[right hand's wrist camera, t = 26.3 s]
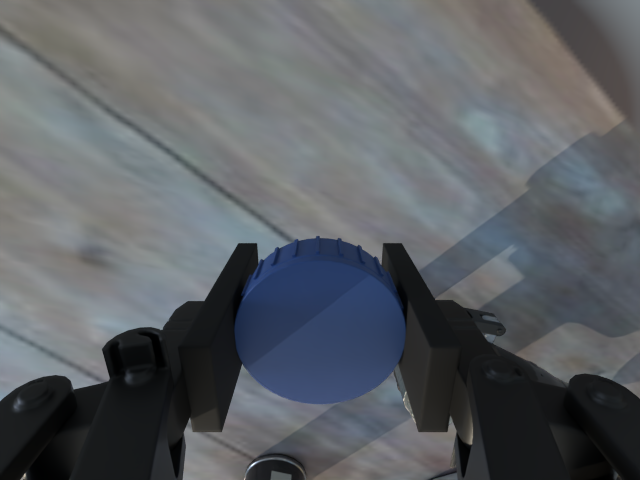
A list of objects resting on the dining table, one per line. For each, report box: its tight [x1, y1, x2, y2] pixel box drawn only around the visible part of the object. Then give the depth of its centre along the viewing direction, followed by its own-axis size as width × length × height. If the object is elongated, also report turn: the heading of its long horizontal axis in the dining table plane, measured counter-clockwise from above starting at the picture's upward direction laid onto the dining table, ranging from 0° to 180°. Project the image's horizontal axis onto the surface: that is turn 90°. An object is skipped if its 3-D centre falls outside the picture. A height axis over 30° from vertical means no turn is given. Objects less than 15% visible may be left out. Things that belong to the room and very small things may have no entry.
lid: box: [234, 236, 406, 404], centre depth 11 cm, size 5×5×2 cm
